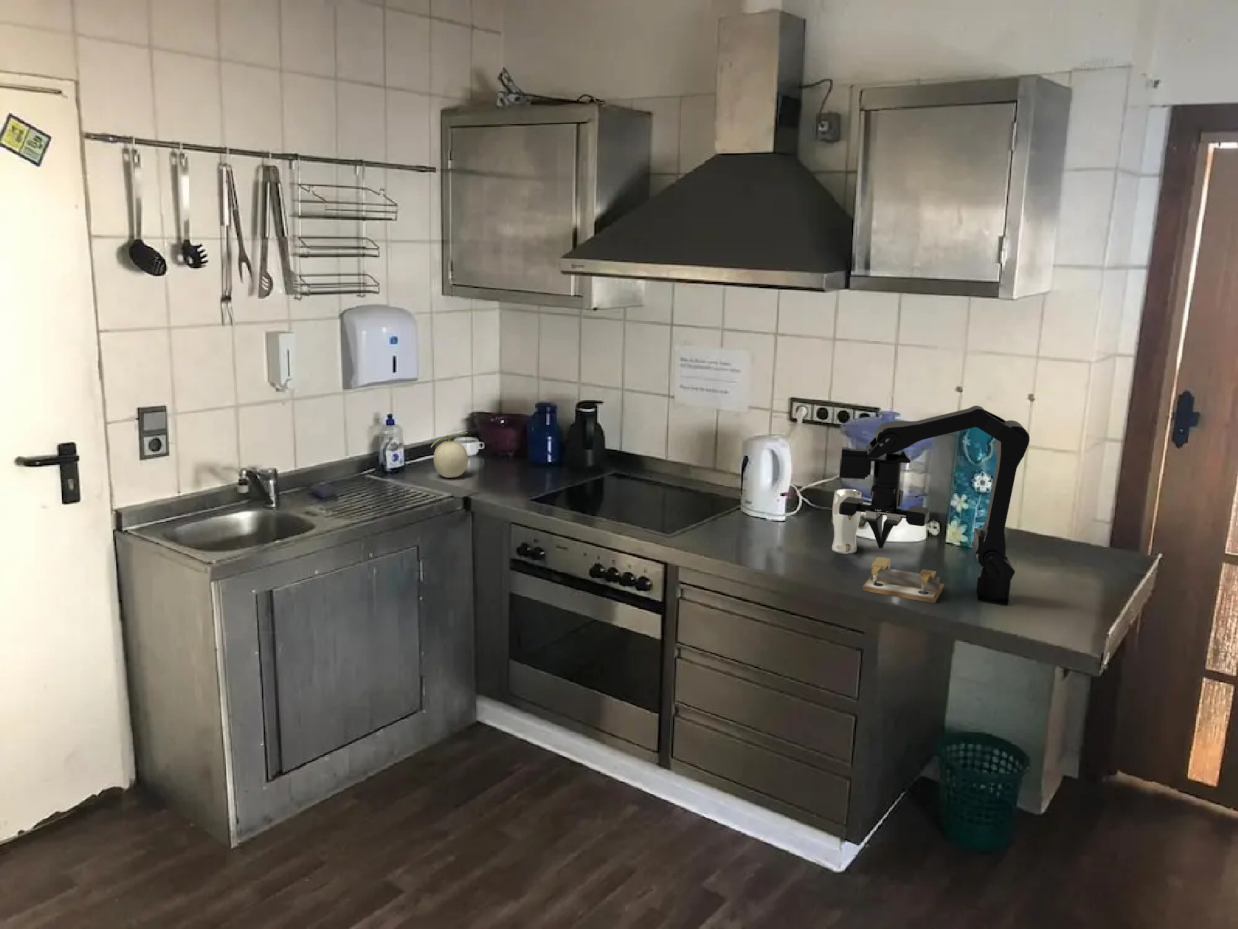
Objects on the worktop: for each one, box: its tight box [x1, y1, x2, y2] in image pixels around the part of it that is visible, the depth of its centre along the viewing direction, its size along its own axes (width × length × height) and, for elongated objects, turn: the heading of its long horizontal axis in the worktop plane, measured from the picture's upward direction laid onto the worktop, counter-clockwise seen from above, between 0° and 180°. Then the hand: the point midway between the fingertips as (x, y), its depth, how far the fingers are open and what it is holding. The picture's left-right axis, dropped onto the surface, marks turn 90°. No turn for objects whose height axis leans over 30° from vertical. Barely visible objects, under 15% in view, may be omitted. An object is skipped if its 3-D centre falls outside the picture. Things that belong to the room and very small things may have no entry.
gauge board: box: [861, 568, 945, 604], centre depth 231 cm, size 16×10×5 cm, turn 63°
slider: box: [870, 556, 892, 584], centre depth 234 cm, size 3×9×4 cm, turn 153°
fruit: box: [430, 431, 469, 479], centre depth 319 cm, size 10×12×15 cm
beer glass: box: [831, 488, 863, 555], centre depth 256 cm, size 7×7×15 cm
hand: (881, 548), depth 229 cm, fingers closed
